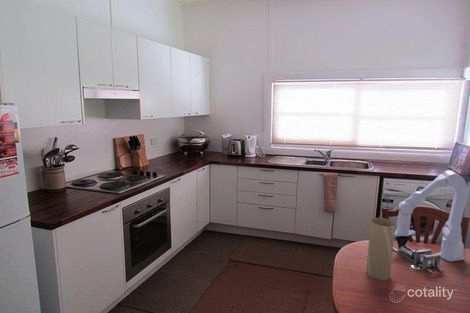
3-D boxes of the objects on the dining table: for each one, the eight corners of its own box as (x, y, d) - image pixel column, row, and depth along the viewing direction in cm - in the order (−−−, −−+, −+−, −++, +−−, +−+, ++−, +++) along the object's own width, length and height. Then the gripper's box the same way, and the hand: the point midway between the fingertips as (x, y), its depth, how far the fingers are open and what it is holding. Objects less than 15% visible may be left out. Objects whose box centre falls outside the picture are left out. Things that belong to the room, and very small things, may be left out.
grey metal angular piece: (403, 247, 171) (404, 235, 170) (444, 271, 148) (446, 258, 146) (384, 249, 168) (385, 237, 167) (423, 274, 145) (424, 261, 143)
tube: (362, 273, 145) (367, 222, 140) (370, 265, 152) (375, 216, 148) (385, 282, 138) (391, 228, 134) (393, 273, 146) (398, 221, 141)
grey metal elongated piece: (399, 252, 165) (400, 245, 164) (406, 251, 166) (407, 244, 166) (426, 268, 150) (427, 260, 149) (433, 266, 151) (434, 259, 151)
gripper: (409, 220, 170) (406, 243, 173) (386, 222, 167) (383, 246, 169) (419, 225, 164) (416, 249, 166) (396, 227, 160) (393, 253, 163)
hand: (400, 248), depth 167 cm, fingers closed, pressing on grey metal elongated piece
